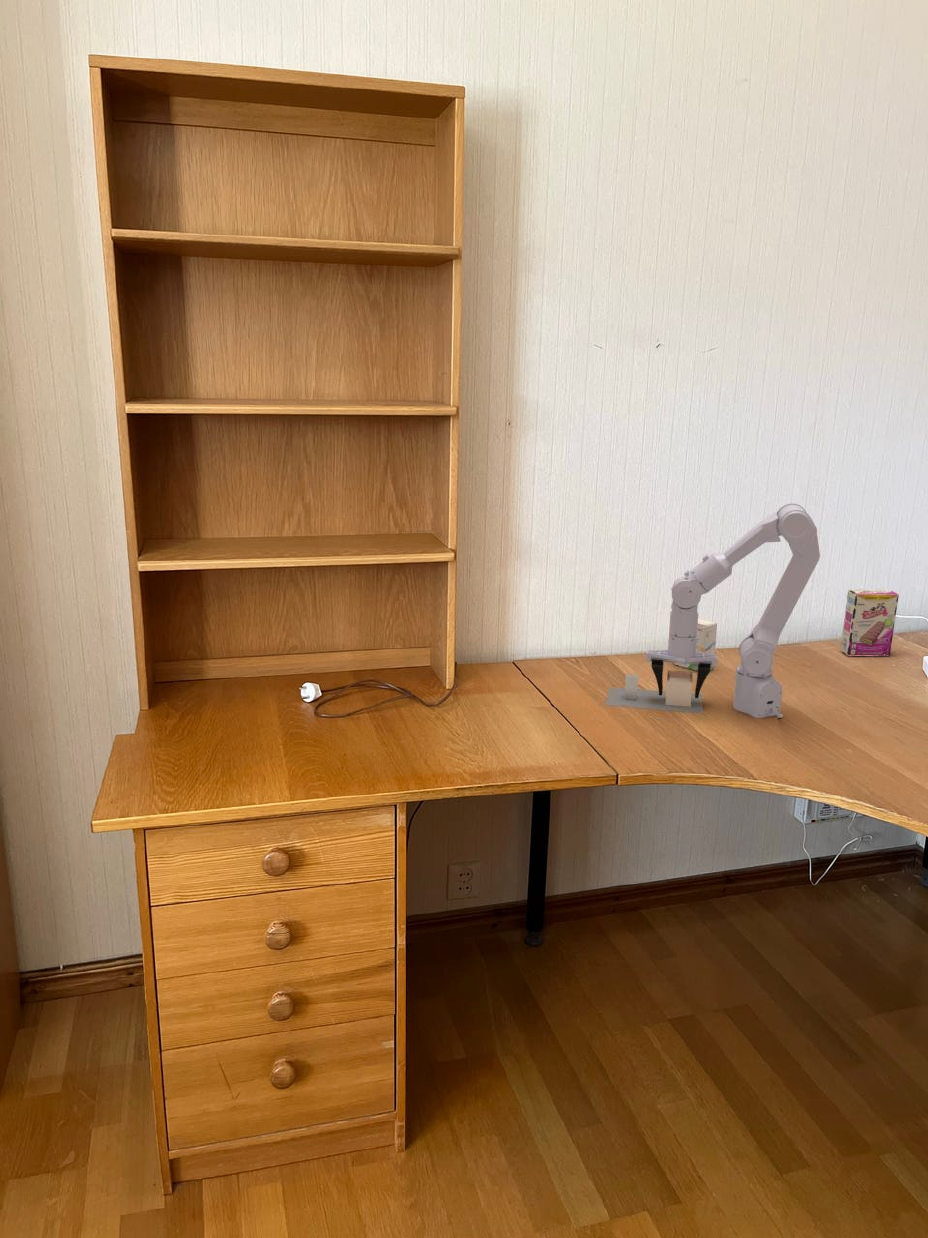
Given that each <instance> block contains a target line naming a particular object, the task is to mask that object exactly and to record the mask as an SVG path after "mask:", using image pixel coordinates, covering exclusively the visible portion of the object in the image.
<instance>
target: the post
mask: <svg viewBox="0 0 928 1238" xmlns="http://www.w3.org/2000/svg"><path fill="white" fill-rule="evenodd" d="M624 679H625V681H624V682H625V683H624V688H625V697H624V699H629V700H637V692H638V689H639V688H638V687H639V673H638V674H637V673H625V678H624Z"/></svg>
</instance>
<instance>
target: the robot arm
mask: <svg viewBox="0 0 928 1238" xmlns="http://www.w3.org/2000/svg"><path fill="white" fill-rule="evenodd" d="M780 536H781V537H783V539H784V540H785V542H787V543H788V545H789V548H790V550H791V553H792V557H791V558H790V560H789V562H788V564H787V567H786V568H785V570H784V572H783V574H782V576H781V578H780V580H779V581H778V584H777V586H776V588H775V590H774V592H773V593H772V596H771V598H770V599H769V601H768V604H767V606H766V607H765V610H764V612H763V613H762V615H761V618H760V619H759V621H758V623H757V624H756V625H755V626H754V627H753V628H752V630H751V632H750V634H748V636H746V637H745V638H743V640H741V642H740V644H739V647H738V653H739V655H740V664H738V665H737V667H736V671H735V672H736V673H735V685H734V694H733V706H732V707H733V708H734V709H735V710H736V711H738V712H741V713H744V714H747V715H749V716H752V717H753V718H755V719H762V718H769V717H773V716H776V717H777V719H780V718H783V716H784V715H783V714H782V713H781V707H782V697H783V687H782V684H781V683H780V682H779V681H778V680H777V679H775V677H774V675H773V665H774V655H775V654H774V653H775V651H776V650H777V648H778V643H779V639H780V636H781V634H782V632H783V630H784V628H785V626H786V625H787V622H788V621H789V619H790V617H791V615H792V613H793V611H794V609H795V607H796V605H797V603H798V602H799V599H800V597H801V595H802V594H803V592H804V590H805V588H806V585H807V584H808V582H809V580H810V578H811V576H812V574H813V573H814V570H815V568H816V567H817V565H818V563H819V561H820V559H821V558H820V557H821V553H820V546H819V540H818V527H817V526H816V525H815V522H814V521H813V519H812V517H811V516H810V514H809V513H808V512H807V511H806V509H805V508H804V507H803V506H802V505H800V504H798V503H793V502H792V503H791V502H790V503H787V504H785V505H783V506H781V507H780V508H779V509H778V510H777V512H776V511H774V512H772V513H770V514H768V515H767V516H766V517H765V518H764V519H762V520H761V521H759V522H758V523H757V524H755V525H754V527H752V528H751V529H750V530H749V531H748V532H746V533H745V534H744V535H743V536H741V537H740V538H739V539H738V540H737V541H736V542H735V543H733V544H732V545H731V546H730V547H729V548H728V549H726V550H725V551H724V552H719V553H718V552H712V553H711V554H710V555H709V554H705V555H704V556H703V557H702V558H701V559H702V561H701V562H699V563H698V564H697V565H696V566H694V567H693V568H692V569H691V570H686V571H685V572H684V573H683V575H684V576H681V577H678V578H677V579H676V580H674V582H673V583H672V587H671V589H670V591H671V598H672V602H671V610H670V612H669V613H670V615H669V616H670V617H669V618H670V619H669V628H668V629H669V630H668V645H667V646H668V647H667V649H663V650H658V649H657V650H647V649H646V653H645V654H646V655H645V656H646V657H645V662H649V663H650V662H651V665H650V667H651V669H652V671H653V674H654V677H655V679H656V683H657V687H658V689H657V690H658V691H659V695H662V691H663V687H664V686H663V681H664V680H663V678H664V677H663V675H664V673H663V672H664V663H672V664H673V663H686V664H698V671H696V672H697V674H696V683H695V690H694V694H695V698H698V697H699V694H701V693H700V692H701V689H702V687H703V684H704V682H705V681H706V678H707V677H708V676H709V674H710V673H711V670H710V665H711V666H713V667H714V668H715V667H717V664H718V663H717V662H718V655H716V654H715V655H709V654H703V653H697V652H696V640H697V626H698V618H699V612H698V606H699V605H698V604H699V603H700V602H701V598H702V596H703V595H705V594H708V593H710V592H711V591H712V590H713V589H714V588H716V587H717V586H718V585H720V584H721V583H722V582H723V581H726V579H727V578H729V577H730V576H731V575H732V572H733V566H734V565H735V564H737V563H739V562H740V561H741V560H742V559H743V560H744V558H746V557H747V556H749V554H752V553H753V552H754V551H755V550H757V549H758V548H760V547H761V546H763V545H764V544H765V543H779V542H781V541H782V540H781V538H780Z"/></svg>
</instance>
